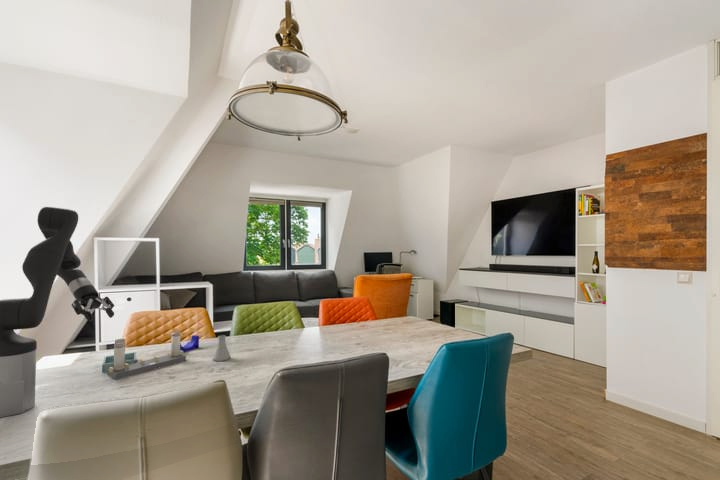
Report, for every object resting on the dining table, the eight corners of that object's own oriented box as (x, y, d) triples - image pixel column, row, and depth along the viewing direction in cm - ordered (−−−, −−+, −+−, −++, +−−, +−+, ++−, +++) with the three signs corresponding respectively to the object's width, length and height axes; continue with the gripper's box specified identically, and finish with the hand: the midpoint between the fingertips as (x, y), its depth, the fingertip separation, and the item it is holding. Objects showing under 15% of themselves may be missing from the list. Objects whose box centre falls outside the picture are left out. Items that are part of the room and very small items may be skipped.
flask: (209, 360, 145) (209, 337, 146) (222, 355, 152) (222, 333, 152) (220, 362, 142) (220, 339, 142) (233, 357, 148) (234, 335, 149)
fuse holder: (114, 379, 123) (114, 370, 123) (106, 374, 128) (106, 365, 128) (186, 360, 145) (186, 352, 145) (177, 357, 150) (177, 349, 150)
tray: (135, 366, 137) (135, 359, 137) (102, 372, 131) (102, 364, 131) (135, 359, 147) (135, 352, 147) (104, 363, 141) (104, 356, 141)
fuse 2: (180, 356, 145) (181, 332, 145) (171, 357, 143) (171, 334, 143) (179, 354, 147) (180, 331, 148) (170, 355, 145) (171, 332, 146)
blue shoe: (192, 346, 166) (192, 334, 166) (198, 347, 164) (198, 335, 164) (170, 353, 155) (170, 340, 155) (177, 355, 153) (177, 341, 153)
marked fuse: (126, 363, 139) (126, 339, 139) (116, 366, 136) (116, 341, 136) (122, 361, 141) (123, 338, 141) (113, 364, 138) (113, 340, 138)
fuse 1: (124, 370, 128) (125, 343, 128) (113, 372, 126) (113, 345, 126) (124, 367, 130) (125, 341, 131) (113, 369, 128) (114, 343, 129)
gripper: (69, 285, 137) (89, 314, 133) (104, 283, 150) (123, 309, 147) (60, 298, 138) (79, 327, 134) (95, 294, 152) (113, 321, 148)
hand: (102, 318), depth 140 cm, fingers open, 8 cm apart
